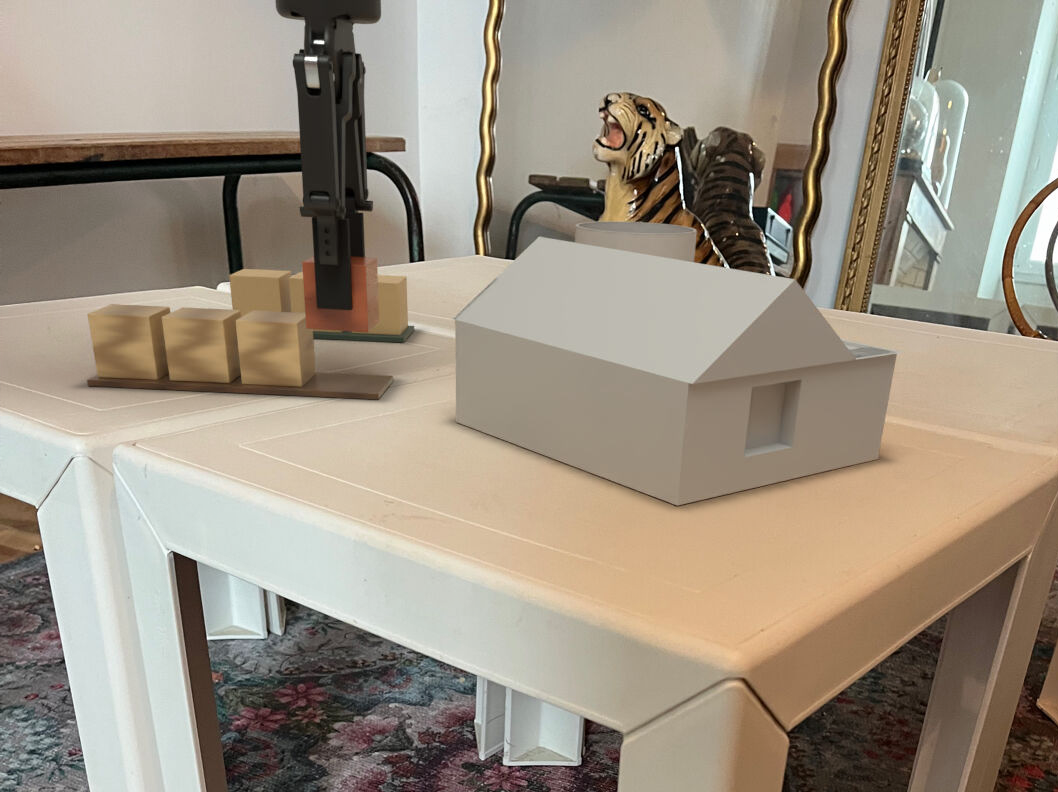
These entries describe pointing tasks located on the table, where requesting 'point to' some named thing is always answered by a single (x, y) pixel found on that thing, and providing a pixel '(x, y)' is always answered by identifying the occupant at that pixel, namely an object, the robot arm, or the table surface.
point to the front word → (216, 353)
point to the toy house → (666, 372)
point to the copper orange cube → (362, 299)
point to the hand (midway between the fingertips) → (342, 302)
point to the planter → (640, 238)
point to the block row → (288, 296)
